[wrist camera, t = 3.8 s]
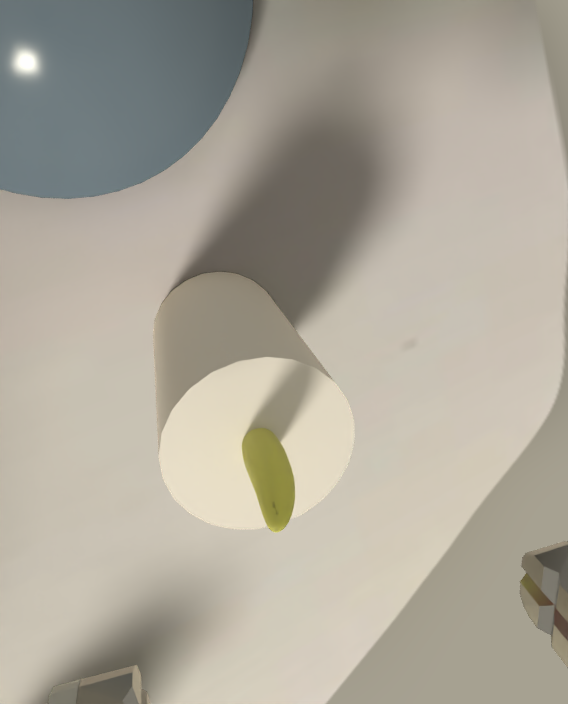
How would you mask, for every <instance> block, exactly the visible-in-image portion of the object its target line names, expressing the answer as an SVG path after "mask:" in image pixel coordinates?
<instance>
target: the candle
mask: <svg viewBox="0 0 568 704" xmlns="http://www.w3.org/2000/svg"><path fill="white" fill-rule="evenodd" d="M153 347H154V368H155V390H156V411H157V432H158V454H159V461H160V467H161V472H162V477H163V480H164V482H165V484H166V486H167V487H168V489H169V491H170V493H171V495H172V497H173V498H174V499H175V500H176V501H177V502H178V503H179V504H180V505H181V506H182V507H183V508H184V509H185V510H186V511H187V512H188V513H189V514H191V515H193V516H195V517H197V518H199V519H201V520H203V521H205V522H207V523H209V524H212V525H216V526H220V527H225V528H229V529H260V528H264V527H268V528H269V529H270V530H271V531H273V532H279V531H281V530H283V529H284V528H285V526H286V525H287V524H288V522H289V520H290V519H293V518H295V517H297V516H299V515H302V514H303V513H305V512H306V511H308V510H309V509H310V508H312V507H313V506H315V505H316V504H317V503H319V502H320V501H322V500H323V498H324V497H325V496H326V495H327V494H328V493H329V492H330V491H331V490H332V489H333V487H334V486H335V485H336V484H337V483H338V481H339V480H340V478H341V476H342V474H343V473H344V471H345V469H346V467H347V465H348V464H349V460H350V457H351V453H352V449H353V446H354V418H353V415H352V412H351V409H350V406H349V403H348V400H347V398H346V397H345V396H344V394H343V393H342V392H341V390H340V389H339V387H338V386H337V385H336V383H335V382H334V380H333V379H332V378H331V376H330V375H329V374H328V372H327V371H326V370H325V369H324V367H323V366H322V365H321V363H320V362H319V361H318V359H317V358H316V357H315V355H314V354H313V353H312V351H311V350H310V349H309V347H308V346H307V345H306V343H305V342H304V341H303V339H302V338H301V337H300V335H299V334H298V333H297V331H296V330H295V329H294V327H293V326H292V325H291V323H290V322H289V321H288V319H287V318H286V317H285V315H284V314H283V313H282V311H281V310H280V309H279V307H278V306H277V305H276V303H275V302H274V301H273V299H272V298H271V297H270V296H269V294H268V293H267V292H266V290H265V289H263V288H262V287H261V286H259V285H258V284H257V283H256V282H254V281H253V280H251V279H249V278H246V277H244V276H241V275H239V274H235V273H228V272H221V271H220V272H212V273H203V274H200V275H198V276H195V277H193V278H190V279H188V280H186V281H184V282H183V283H182V284H180V285H179V286H178V287H176V288H175V289H174V290H172V291H171V293H170V294H169V295H168V296H167V298H166V299H165V300H164V301H163V303H162V304H161V306H160V309H159V311H158V313H157V316H156V318H155V323H154V331H153Z"/></svg>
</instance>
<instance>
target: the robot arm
mask: <svg viewBox="0 0 568 704" xmlns="http://www.w3.org/2000/svg"><path fill="white" fill-rule="evenodd" d="M521 567H522V568H523V569H524V570H525V571H526V574H525V576H524V577H523V579H522V580H521V581H520V597H521V600H522V603H523V607H524V609H525V610H526V612H527V614H528V616H529V618H530V619H531V620H532V622H533V623H534V624H535V626H536V627H537V628H538V629H540V630H542V631H544V632H546V633H548V634H550V635H551V646H552V648H553V649H554V651H555V652H556V653H557V654H558V656H559V657H560V658H561V660H562V661H563V662H564V664H565V665H566V666H567V668H568V541H563V542H560V543H556V544H553V545H550V546H547V547H543V548H540V549H537V550H533V551H530V552H527V553H525V555H524V556H523V557H522V565H521ZM48 704H150V699H149V696H148V693H147V691H145V690H143V689H141V674H140V671H139V669H138V666H137V665H134V666H130V667H126V668H122V669H118V670H114V671H110V672H106V673H103V674H99V675H95V676H91V677H87V678H83V679H79V680H76V681H72V682H68V683H65V684H61V685H57V686H54V687H53V689H52V691H51V693H50V695H49V699H48Z"/></svg>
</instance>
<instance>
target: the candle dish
mask: <svg viewBox="0 0 568 704" xmlns="http://www.w3.org/2000/svg"><path fill="white" fill-rule="evenodd" d="M252 11H253V0H0V189H2V190H5V191H9V192H12V193H17V194H23V195H29V196H35V197H41V198H64V199H70V198H82V197H94V196H99V195H103V194H108V193H112V192H117V191H120V190H123V189H126V188H128V187H131V186H134V185H136V184H139V183H142V182H144V181H146V180H148V179H149V178H151V177H153V176H155V175H157V174H159V173H161V172H162V171H164V170H166V169H167V168H168V167H170V166H171V165H172V164H174V163H175V162H176V161H178V160H179V159H180V158H182V157H183V156H184V155H185V154H186V153H187V152H188V151H189V150H190V149H191V148H192V147H193V146H194V145H195V144H197V143H198V142H199V141H200V140H201V139H202V137H203V136H204V135H205V133H206V132H207V131H208V130H209V128H210V127H211V126H212V124H213V123H214V122H215V120H216V119H217V118H218V116H219V114H220V112H221V111H222V109H223V107H224V105H225V104H226V102H227V100H228V99H229V97H230V95H231V92H232V90H233V87H234V85H235V83H236V80H237V78H238V75H239V73H240V70H241V67H242V63H243V60H244V56H245V52H246V49H247V45H248V40H249V33H250V27H251V21H252Z"/></svg>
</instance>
